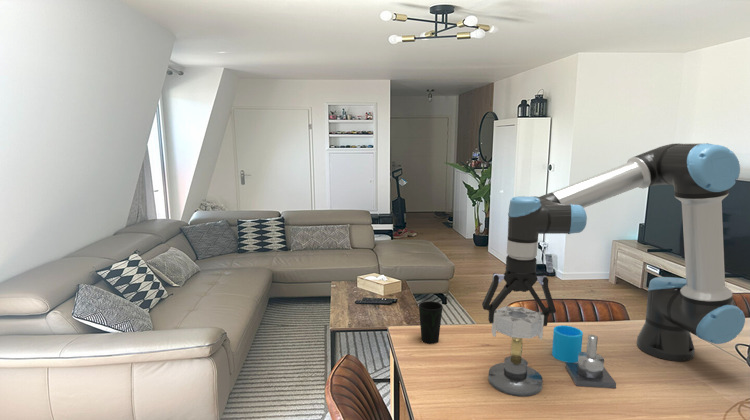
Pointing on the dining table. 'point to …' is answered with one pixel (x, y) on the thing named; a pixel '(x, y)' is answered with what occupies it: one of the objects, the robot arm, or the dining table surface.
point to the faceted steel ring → (518, 322)
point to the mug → (567, 343)
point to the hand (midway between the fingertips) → (516, 335)
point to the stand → (590, 368)
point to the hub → (515, 374)
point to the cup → (430, 321)
